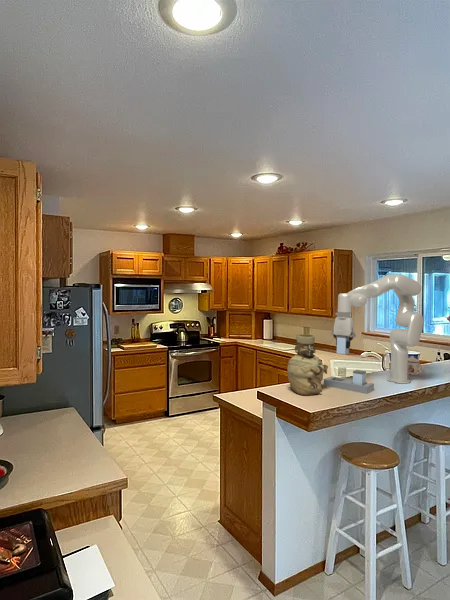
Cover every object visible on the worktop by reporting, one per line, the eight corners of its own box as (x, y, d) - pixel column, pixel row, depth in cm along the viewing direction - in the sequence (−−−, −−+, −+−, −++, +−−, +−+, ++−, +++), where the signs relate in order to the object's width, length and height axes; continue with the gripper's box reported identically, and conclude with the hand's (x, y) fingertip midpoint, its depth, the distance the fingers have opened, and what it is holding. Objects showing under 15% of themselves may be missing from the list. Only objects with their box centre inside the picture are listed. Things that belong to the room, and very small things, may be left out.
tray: (341, 379, 239) (342, 376, 239) (364, 384, 230) (364, 380, 230) (331, 384, 228) (331, 380, 228) (354, 388, 219) (354, 384, 219)
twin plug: (356, 388, 214) (356, 369, 214) (365, 389, 211) (366, 371, 211) (352, 389, 211) (353, 371, 210) (361, 391, 207) (362, 372, 207)
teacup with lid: (401, 373, 260) (401, 355, 260) (409, 371, 265) (409, 354, 265) (418, 376, 250) (419, 358, 250) (426, 375, 255) (427, 357, 255)
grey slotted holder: (331, 384, 226) (332, 375, 226) (373, 392, 211) (374, 383, 210) (323, 388, 219) (323, 378, 219) (366, 396, 203) (366, 386, 203)
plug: (340, 352, 226) (341, 334, 226) (348, 353, 223) (349, 335, 222) (336, 353, 222) (337, 335, 222) (344, 354, 219) (345, 336, 219)
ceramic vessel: (327, 398, 199) (329, 338, 198) (285, 394, 205) (286, 336, 203) (327, 388, 218) (328, 334, 217) (288, 385, 223) (289, 332, 222)
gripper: (327, 314, 225) (325, 346, 225) (356, 316, 213) (354, 350, 214) (333, 314, 230) (332, 345, 231) (361, 316, 219) (360, 349, 219)
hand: (342, 347), depth 222 cm, fingers closed on plug, 5 cm apart
